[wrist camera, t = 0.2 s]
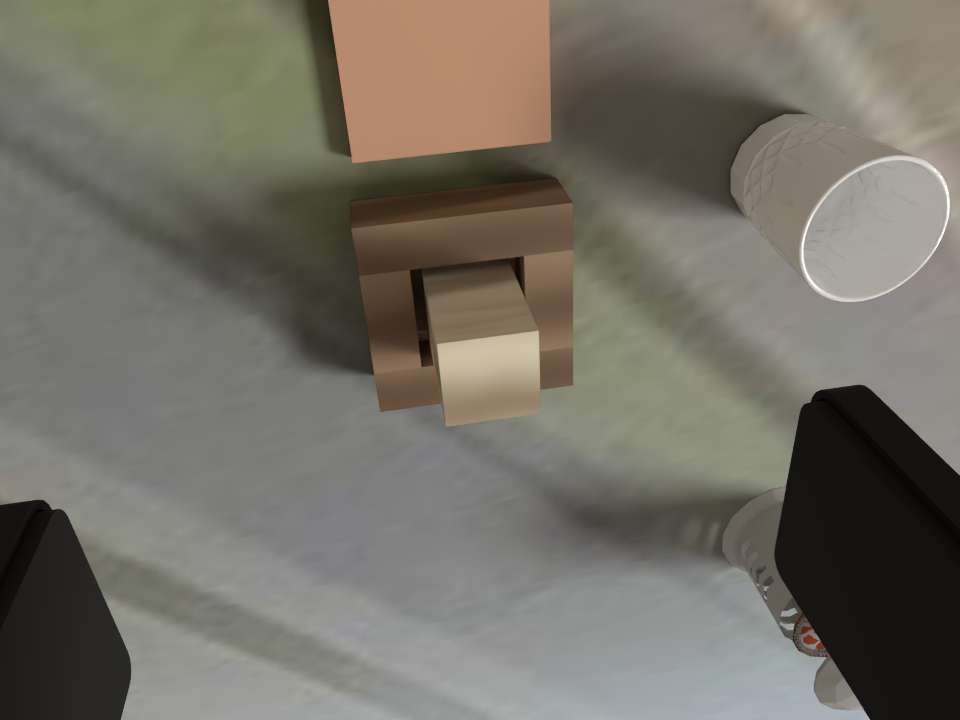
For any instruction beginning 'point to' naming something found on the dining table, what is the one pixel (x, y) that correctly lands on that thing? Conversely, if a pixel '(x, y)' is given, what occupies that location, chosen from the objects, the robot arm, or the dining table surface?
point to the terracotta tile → (442, 75)
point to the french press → (781, 589)
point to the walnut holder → (456, 240)
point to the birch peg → (481, 342)
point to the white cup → (840, 205)
